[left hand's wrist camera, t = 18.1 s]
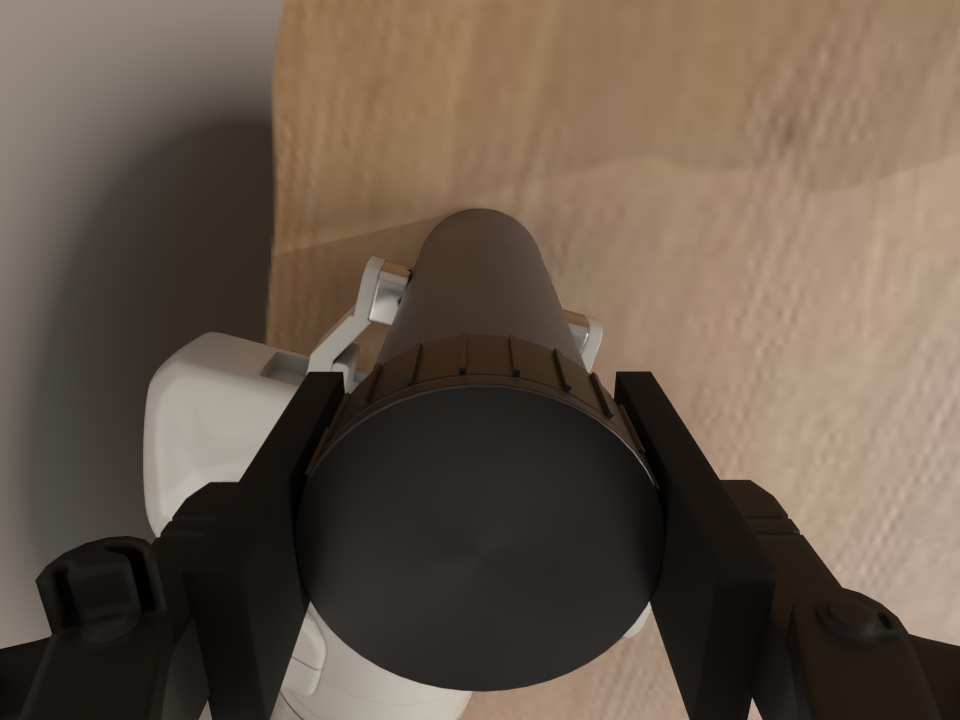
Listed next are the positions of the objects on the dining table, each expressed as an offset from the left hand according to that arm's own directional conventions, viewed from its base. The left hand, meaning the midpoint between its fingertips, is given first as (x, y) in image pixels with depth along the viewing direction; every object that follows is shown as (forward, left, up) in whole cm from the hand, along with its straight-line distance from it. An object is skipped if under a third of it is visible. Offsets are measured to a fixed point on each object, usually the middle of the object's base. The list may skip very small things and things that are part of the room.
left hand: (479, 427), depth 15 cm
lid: (0, 0, +4) cm, 4 cm away
